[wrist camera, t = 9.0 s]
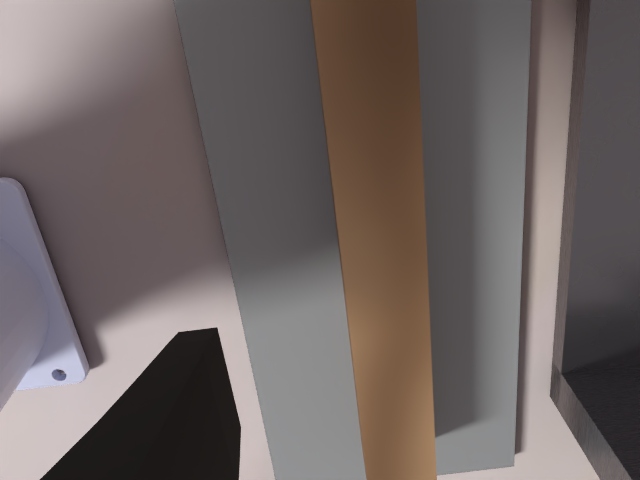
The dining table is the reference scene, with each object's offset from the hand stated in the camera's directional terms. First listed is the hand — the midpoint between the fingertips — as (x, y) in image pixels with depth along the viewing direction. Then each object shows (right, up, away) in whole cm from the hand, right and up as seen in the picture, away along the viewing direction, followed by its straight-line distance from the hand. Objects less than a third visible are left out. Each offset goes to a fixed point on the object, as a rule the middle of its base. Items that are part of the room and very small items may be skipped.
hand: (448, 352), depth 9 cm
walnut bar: (-1, +4, +9) cm, 10 cm away
